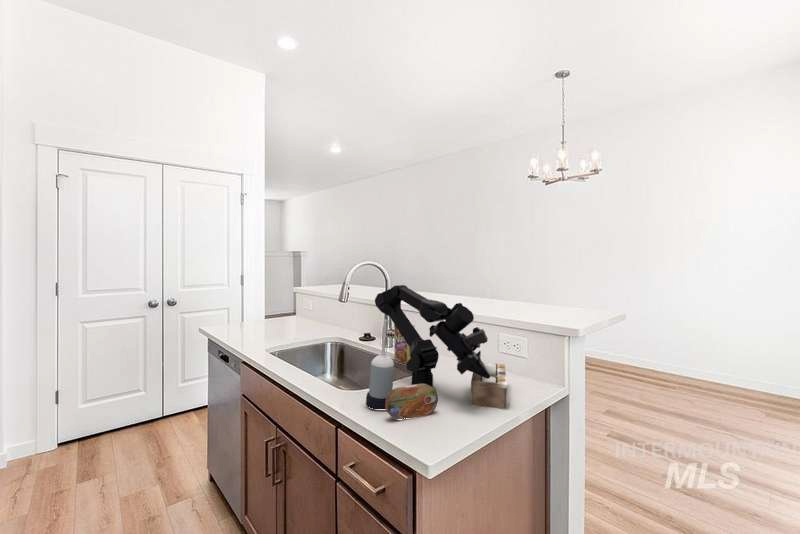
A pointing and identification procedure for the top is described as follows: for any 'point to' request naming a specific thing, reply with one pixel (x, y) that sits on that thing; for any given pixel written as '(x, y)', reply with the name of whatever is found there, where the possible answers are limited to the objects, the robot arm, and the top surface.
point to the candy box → (401, 347)
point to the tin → (411, 401)
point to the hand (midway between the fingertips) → (489, 377)
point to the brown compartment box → (490, 389)
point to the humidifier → (380, 377)
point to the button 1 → (489, 379)
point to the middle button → (490, 368)
